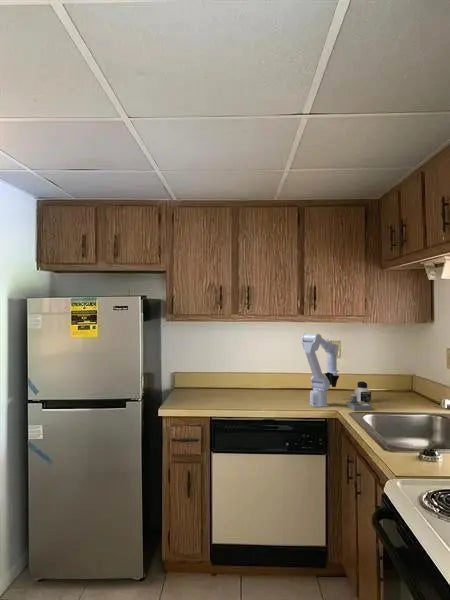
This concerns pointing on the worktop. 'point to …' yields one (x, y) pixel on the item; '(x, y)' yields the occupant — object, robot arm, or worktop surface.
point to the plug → (353, 398)
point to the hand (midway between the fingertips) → (331, 385)
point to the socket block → (359, 406)
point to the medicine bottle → (363, 392)
